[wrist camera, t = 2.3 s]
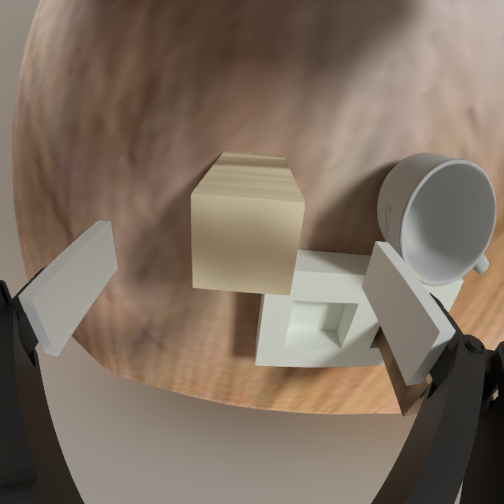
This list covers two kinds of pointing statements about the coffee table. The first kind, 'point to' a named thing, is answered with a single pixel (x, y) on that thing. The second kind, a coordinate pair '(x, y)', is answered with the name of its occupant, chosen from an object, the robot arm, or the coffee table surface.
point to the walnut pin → (401, 379)
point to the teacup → (438, 216)
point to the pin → (246, 224)
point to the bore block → (326, 315)
